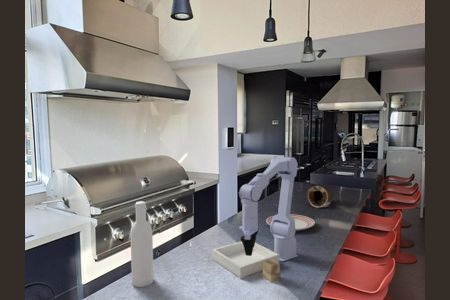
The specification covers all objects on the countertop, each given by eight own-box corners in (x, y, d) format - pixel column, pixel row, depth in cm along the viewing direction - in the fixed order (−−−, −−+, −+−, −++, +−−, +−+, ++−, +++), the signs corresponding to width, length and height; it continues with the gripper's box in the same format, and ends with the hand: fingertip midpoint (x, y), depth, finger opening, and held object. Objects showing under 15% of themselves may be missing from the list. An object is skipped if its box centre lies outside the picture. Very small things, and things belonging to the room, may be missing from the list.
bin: (248, 248, 141) (248, 239, 140) (279, 264, 124) (279, 254, 124) (212, 259, 130) (212, 249, 129) (240, 278, 113) (240, 267, 113)
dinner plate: (259, 229, 167) (259, 223, 167) (274, 216, 192) (274, 211, 191) (308, 237, 155) (309, 231, 154) (319, 222, 179) (319, 217, 179)
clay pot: (338, 186, 226) (327, 185, 206) (339, 206, 223) (328, 207, 203) (318, 186, 234) (306, 185, 214) (319, 206, 232) (307, 207, 212)
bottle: (154, 275, 116) (152, 199, 114) (153, 286, 108) (151, 204, 106) (133, 277, 115) (130, 200, 112) (130, 288, 107) (127, 205, 104)
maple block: (271, 274, 117) (271, 259, 116) (279, 278, 113) (279, 263, 113) (262, 277, 114) (262, 262, 114) (270, 282, 111) (270, 266, 110)
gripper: (242, 210, 121) (242, 242, 122) (236, 221, 107) (236, 258, 108) (259, 211, 120) (259, 244, 121) (255, 222, 106) (256, 260, 107)
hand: (250, 251), depth 115 cm, fingers open, 7 cm apart
